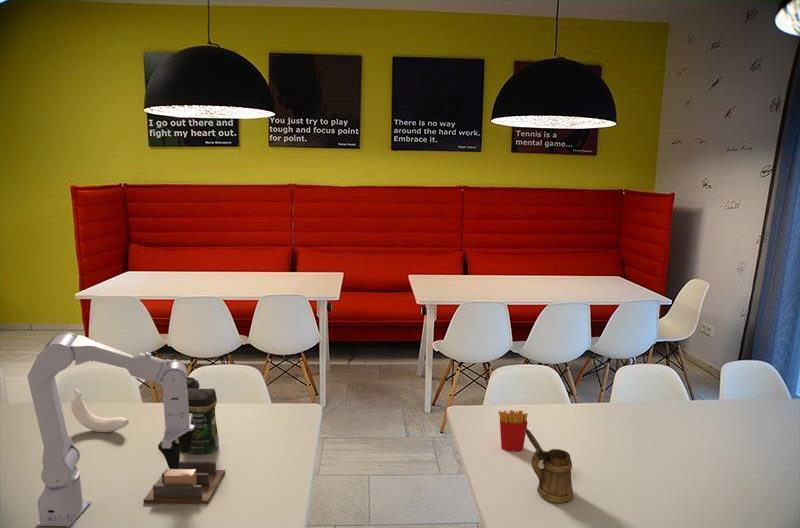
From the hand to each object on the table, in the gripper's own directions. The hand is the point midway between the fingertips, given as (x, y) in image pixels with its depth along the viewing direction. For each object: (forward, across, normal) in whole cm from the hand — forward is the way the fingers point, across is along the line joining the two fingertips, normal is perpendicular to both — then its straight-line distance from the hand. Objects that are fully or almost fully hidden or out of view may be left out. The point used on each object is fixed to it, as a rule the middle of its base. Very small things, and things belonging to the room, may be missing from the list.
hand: (179, 460), depth 144 cm
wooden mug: (+10, +3, -94) cm, 95 cm away
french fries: (+10, +26, -89) cm, 93 cm away
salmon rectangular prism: (+8, 0, 0) cm, 8 cm away
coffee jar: (+10, +23, +3) cm, 25 cm away
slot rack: (+9, +3, 0) cm, 10 cm away
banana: (+10, +32, +37) cm, 50 cm away
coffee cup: (+10, +38, +13) cm, 41 cm away
